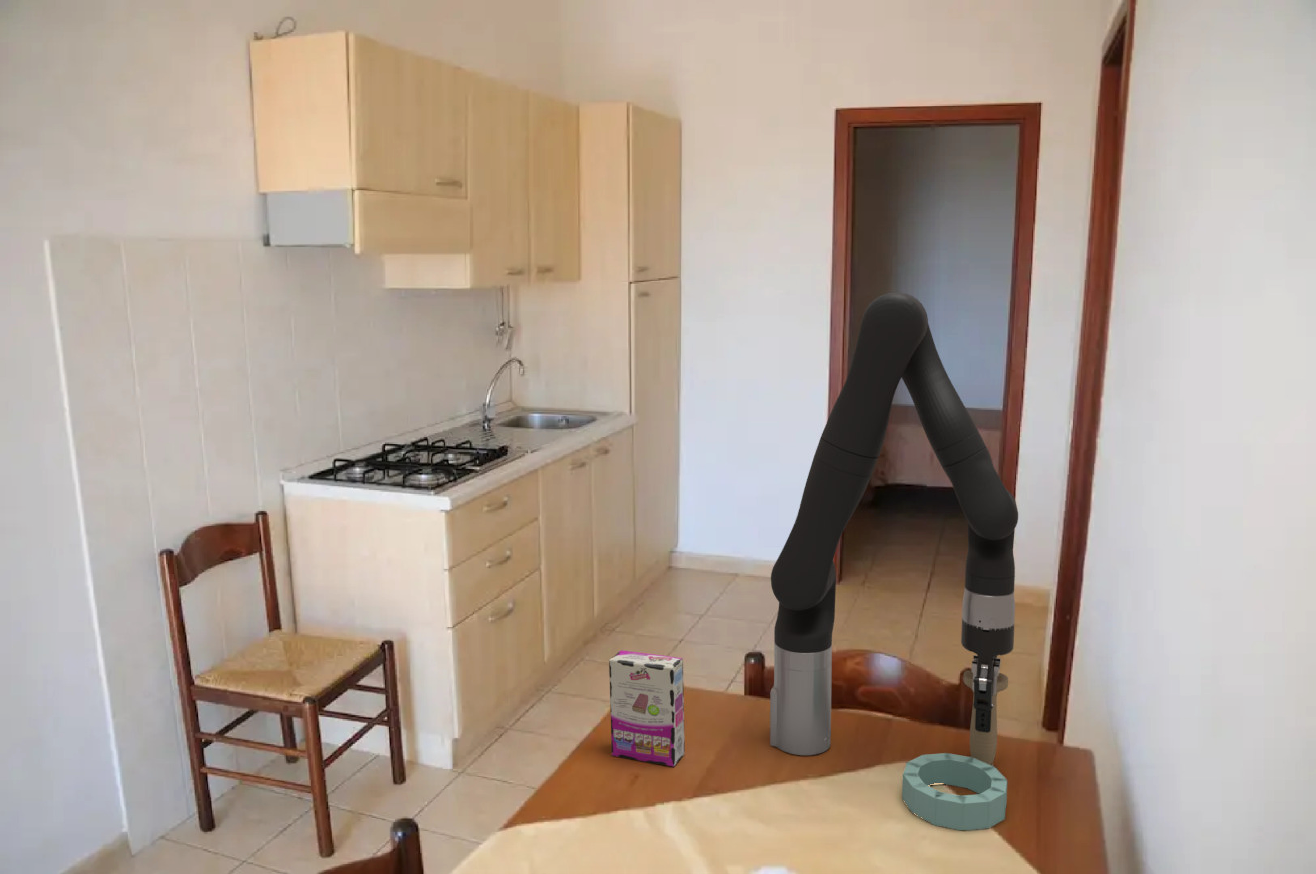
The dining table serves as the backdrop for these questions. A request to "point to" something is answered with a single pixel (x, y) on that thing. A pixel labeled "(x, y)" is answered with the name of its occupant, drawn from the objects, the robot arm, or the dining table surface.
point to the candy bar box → (647, 707)
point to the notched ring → (950, 807)
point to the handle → (987, 742)
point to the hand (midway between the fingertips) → (983, 725)
